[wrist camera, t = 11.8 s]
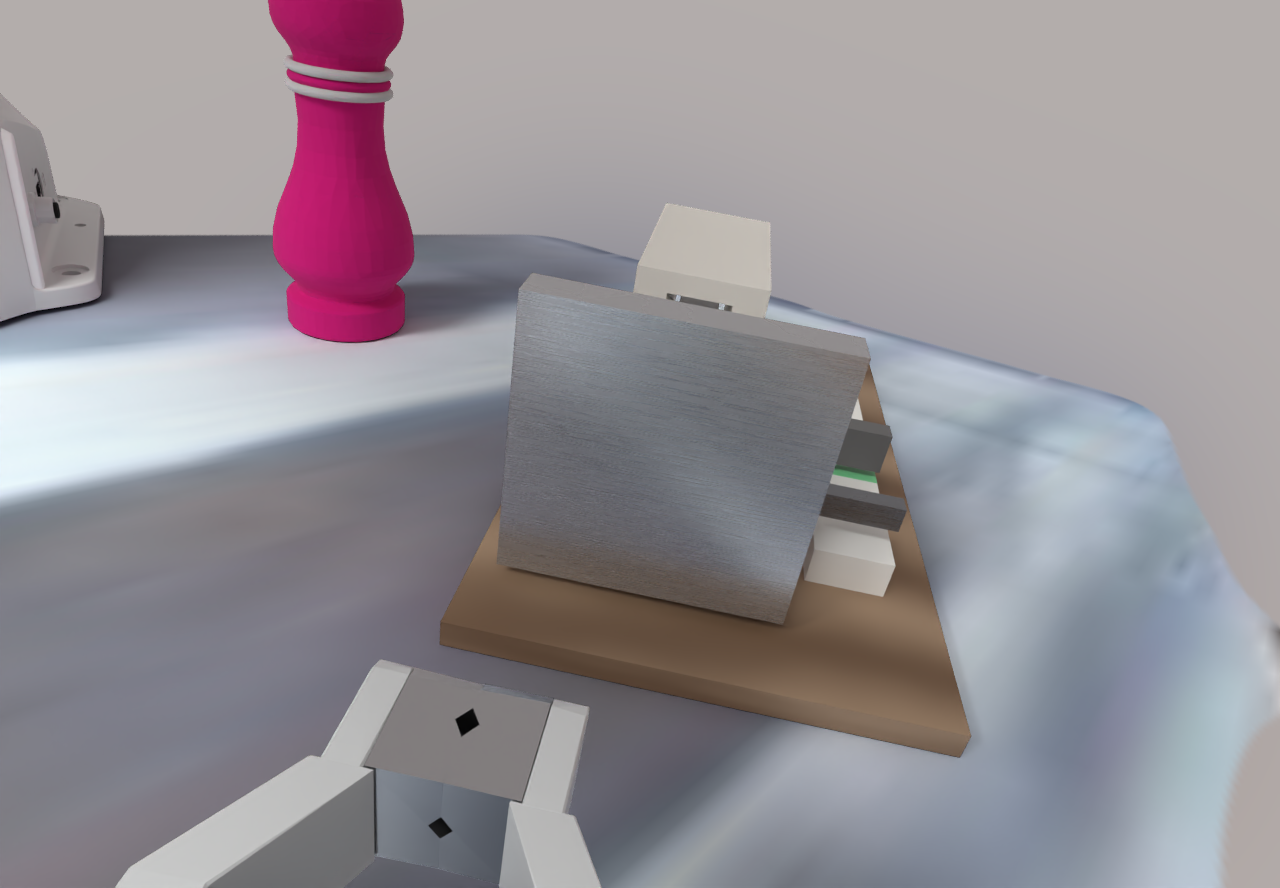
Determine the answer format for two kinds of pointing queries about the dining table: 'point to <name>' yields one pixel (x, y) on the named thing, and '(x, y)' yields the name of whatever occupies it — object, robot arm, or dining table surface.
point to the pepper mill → (341, 172)
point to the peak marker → (865, 445)
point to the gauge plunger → (675, 446)
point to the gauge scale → (850, 543)
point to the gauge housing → (708, 260)
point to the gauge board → (739, 640)
